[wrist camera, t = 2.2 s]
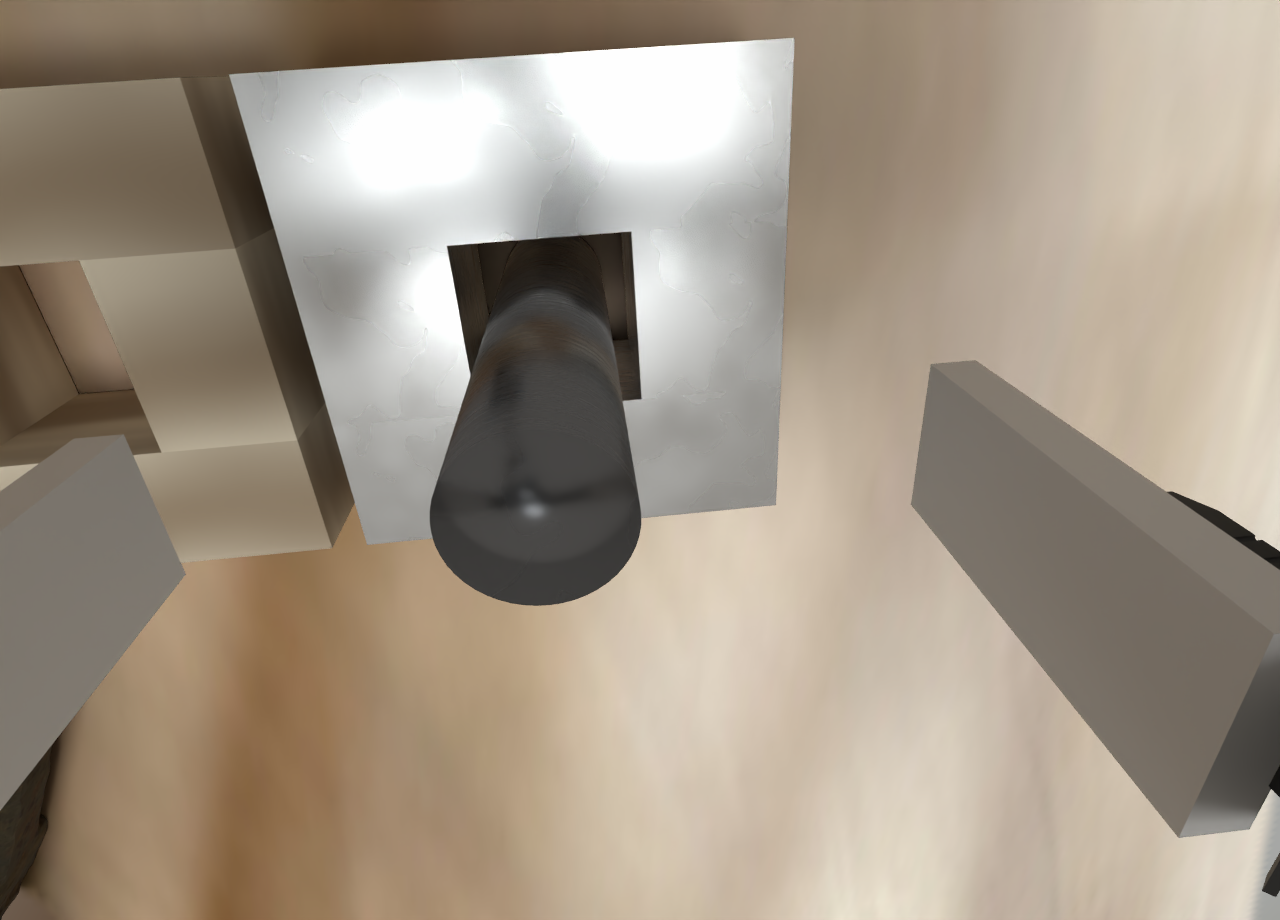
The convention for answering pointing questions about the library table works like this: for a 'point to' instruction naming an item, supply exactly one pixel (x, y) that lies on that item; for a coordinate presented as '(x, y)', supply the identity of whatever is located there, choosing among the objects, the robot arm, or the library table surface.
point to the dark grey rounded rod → (541, 440)
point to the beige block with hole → (165, 313)
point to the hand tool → (22, 831)
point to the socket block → (531, 209)
